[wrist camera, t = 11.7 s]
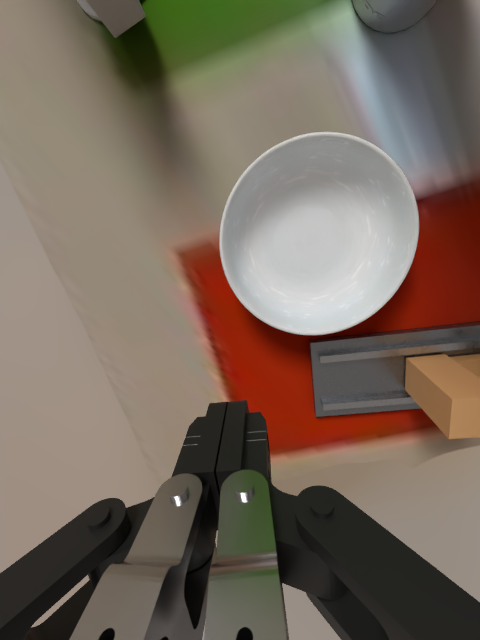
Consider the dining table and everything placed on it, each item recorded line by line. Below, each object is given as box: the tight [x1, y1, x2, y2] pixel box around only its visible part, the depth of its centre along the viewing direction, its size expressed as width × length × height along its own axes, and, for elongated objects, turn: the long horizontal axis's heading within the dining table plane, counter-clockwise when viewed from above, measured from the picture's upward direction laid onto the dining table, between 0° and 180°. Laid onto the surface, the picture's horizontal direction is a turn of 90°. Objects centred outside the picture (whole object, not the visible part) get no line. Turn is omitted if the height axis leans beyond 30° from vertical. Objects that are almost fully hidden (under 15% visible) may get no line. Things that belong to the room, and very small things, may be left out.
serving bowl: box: [219, 132, 419, 335], centre depth 34 cm, size 21×21×7 cm
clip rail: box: [309, 322, 480, 417], centre depth 38 cm, size 26×12×8 cm, turn 98°
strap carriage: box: [405, 354, 480, 439], centre depth 35 cm, size 12×5×10 cm, turn 98°
